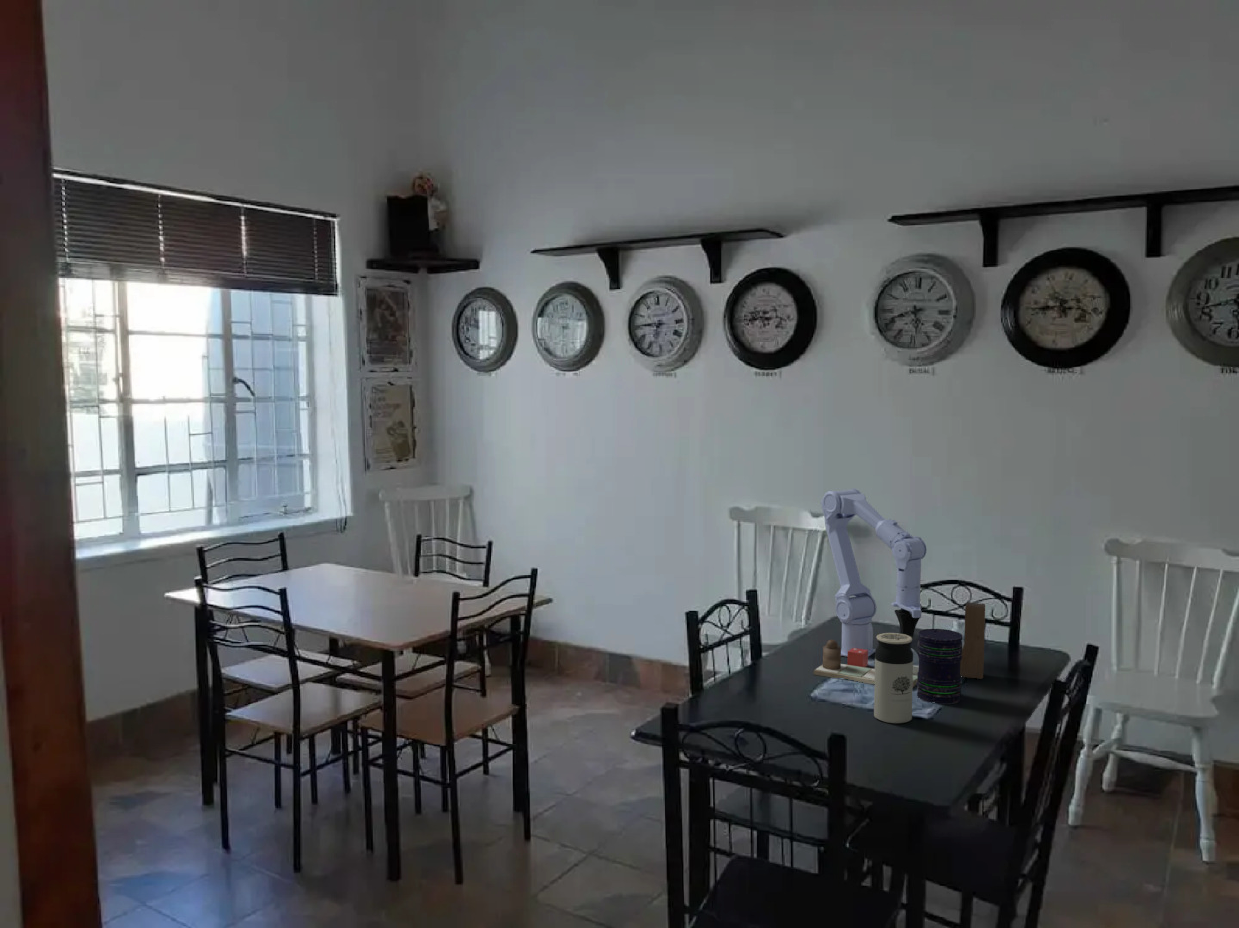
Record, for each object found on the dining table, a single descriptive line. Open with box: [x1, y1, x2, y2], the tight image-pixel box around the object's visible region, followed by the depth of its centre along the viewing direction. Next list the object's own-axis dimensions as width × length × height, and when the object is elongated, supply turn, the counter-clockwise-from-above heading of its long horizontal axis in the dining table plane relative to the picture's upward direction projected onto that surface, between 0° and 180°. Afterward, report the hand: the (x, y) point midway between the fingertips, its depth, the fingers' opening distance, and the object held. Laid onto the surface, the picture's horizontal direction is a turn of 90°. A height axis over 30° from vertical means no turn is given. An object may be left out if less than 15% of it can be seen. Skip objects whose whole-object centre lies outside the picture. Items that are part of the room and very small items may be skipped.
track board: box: [813, 663, 918, 689], centre depth 245 cm, size 9×24×1 cm, turn 58°
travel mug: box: [873, 632, 914, 724], centre depth 215 cm, size 8×8×18 cm
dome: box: [910, 647, 919, 666], centre depth 249 cm, size 7×7×5 cm
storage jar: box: [916, 628, 963, 705], centre depth 229 cm, size 10×10×15 cm
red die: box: [846, 648, 869, 668], centre depth 254 cm, size 4×4×4 cm
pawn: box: [822, 639, 842, 670], centre depth 249 cm, size 4×4×7 cm
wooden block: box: [960, 602, 986, 680], centre depth 245 cm, size 9×4×18 cm, turn 68°
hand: (907, 639), depth 249 cm, fingers closed
